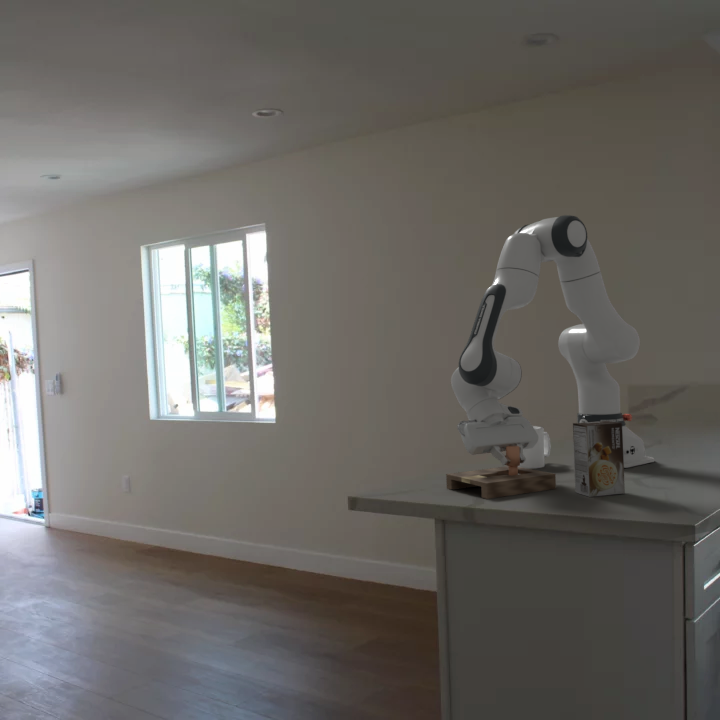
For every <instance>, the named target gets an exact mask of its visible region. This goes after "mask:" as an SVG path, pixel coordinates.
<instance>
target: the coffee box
mask: <svg viewBox="0 0 720 720" xmlns="http://www.w3.org/2000/svg"><path fill="white" fill-rule="evenodd" d="M572 431H573V433H572V434H573V437H572V439H573V460H574V461H573V463H574V487H575V493H577V494H579V495H583V496H586V497H589V498H595V497H601V496H612V495H622V494H625V492H626V490H625V489H626V487H625V468H624V459H623V434H622V423H618V422H612V421H598V422H583V423H577V422H572Z"/></svg>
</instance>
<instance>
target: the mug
mask: <svg viewBox="0 0 720 720" xmlns="http://www.w3.org/2000/svg"><path fill="white" fill-rule="evenodd" d="M532 426H533V428H534V429H535V431H536V433H537V434H538V442H537V443H536V445H535V446H534V447H533V448H529V449H523V455H524V456H525V458H526V460H525V462H524V463H520V466H518V467H522V468H527V469H539V468H544V467H545V464H546V463H545V460H546V459H545V458H547V457H550V453H551V438H550V435H549V433H548V432H547V431H545V429H544V427H543V426H539V425H532Z"/></svg>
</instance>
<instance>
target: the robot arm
mask: <svg viewBox="0 0 720 720" xmlns="http://www.w3.org/2000/svg"><path fill="white" fill-rule="evenodd" d="M587 231H588V230H587V228H586V225H585V224H584V222H583V221H582V220H581V219H580V218H579V217H578V216H576V215H570V214H569V215H567V214H564V215H560V216H556V217H554V216H553V217H548V218H543V219H541V220H540V221H539V220H538V221H535V222H533V223H531V224H524V225H523V226H520V227H519V228H517V230H515V231H514V233H513V234H511V235H510V236H508V237H507V238H506V239H505V241H504V244H503V247H502V249H501V252H500V255H499V258H498V260H497V266H496V269H495V275H494V278H493V282H492V284H491V285H490V286H489V287H487V289H486V290H485V292H484V294H483V295H482V298H481V302H480V304H479V307H478V310H477V313H476V315H475V320H474V322H473V325H472V328H471V330H470V331H471V332H470V335H469V338H468V341H467V343H466V344H465V346H464V348H463V350H462V352H461V353H460V357H459V360H458V367H457V368H456V369H455V370H454V371H453V373H452V375H451V377H450V383H451V384H450V386H451V389H452V391H453V393H454V396H455V398H456V400H457V402H458V403H459V406H460V407H461V408H462V409H463V410H464V411H465V413H466V417H467V419H468V420H460V421H459V422H458V424H457V425H456V429H457V430H458V433H459V434H460V437H461V440H462V442H463V445H464V448H465V450H466V451H467V453H468V454H470V455H472V456H475V455H484V454H491V456H492V457H493V458H495V459H497V460H498V461H499V462H500V464H501V465H502V466H507V465H509V463H510V459H509V457H508V455H506V454H504V453H503V452H506V446H519V450H520V463H524V462H525V460H526V458H525V456H524V455H523V449H529V448H533V447H534V446H535V445H536V443H537V442H538V434H537V433H536V431H535V429H534V428H533V426H534V425H532V423H531V421H529V420H528V419H527V418H526V417H525V416H523V415H524V412H523V410H522V409H521V408H520V407H516V406H511V405H506V404H504V403H502V402H500V401H499V400H501V399H503V398H504V397H506V396H507V395H509V394H510V393H512V392H513V391H514V390H516V389H517V388H518V386H519V385H520V383H521V380H522V377H523V376H522V372H523V371H522V367H521V364H520V363H519V362H518V360H516V359H514V358H512V357H511V356H508V355H507V354H504V353H501V352H499V351H498V350H496V347H495V340H496V337H497V334H498V330H499V326H500V324H501V320H502V317H503V316H504V314H505V313H506V312H507V311H509V310H518V309H522V308H523V307H526V306H527V305H529V304H530V303H531V302H532V301H533V300H534V298H535V295H536V293H537V290H538V285H539V278H540V273H541V272H540V271H541V265H542V263H545V262H546V263H547V262H554V263H555V264H556V269H557V273H558V279H559V280H558V281H559V283H560V287H561V291H562V294H563V295H562V296H563V298H564V302H565V305H566V308H567V309H568V310H569V312H571V313H572V314H573V315H575V316H577V318H578V319H579V320H580V322H581V324H580V323H579V324H576V325H573V326H569V327H567V328H565V329H563V331H561V333H560V335H559V338H558V341H557V345H558V351H559V353H560V355H561V356H562V357H563V358H564V359H565V360H566V361H567V362H568V364H569V366H570V368H571V370H572V372H573V376H574V379H575V382H576V387H577V396H578V399H577V400H578V413H577V415H576V416H577V418H576V419H577V422H576V423H583V422H598V421H612V422H618V423H622V434H623V459H624V469H625V468H626V469H627V468H628V469H629V468H632V467H637V466H641V465H645V464H649V463H654V462H655V458H654V457H653V456H648V455H646V449H645V443H644V441H643V439H642V438H641V437H640V436H638V435H637V434H636V433H635V432H633V431H632V430H631V429H630V428H629V427H627V426H626V425H627V424H626V421H627V422H631V421H632V420H633V416H632V414H631V413H624V414H623V412H621V387H620V385H619V382H617V381H618V380H616V379H614V377H613V376H611V374H610V372H609V370H608V367H607V364H619V363H623V362H625V361H629V360H632V359H633V358H635V357H636V355H637V354H638V352H639V350H640V344H641V340H640V339H641V338H640V336H639V333H638V331H637V329H636V328H635V327H634V326H632V325H631V324H629V323H628V322H626V321H625V320H624V319H623V318H622V317H621V315H620V314H619V313H618V311H617V310H616V309H615V307H614V305H613V304H612V302H611V300H610V297H609V295H608V292H607V289H606V285H605V282H604V278H603V275H602V271H601V268H600V264H599V261H598V257H597V255H596V253H595V251H594V248H593V246H592V244H591V242H590V240H589V238H588V232H587Z"/></svg>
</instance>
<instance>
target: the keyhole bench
mask: <svg viewBox="0 0 720 720" xmlns="http://www.w3.org/2000/svg"><path fill="white" fill-rule="evenodd" d="M445 476H446V477H445V478H446V489H447V490H451V489H453V490H458V489H459V488H460V489H466V487H467V488H473V487H481V489H480V490H481V498H482V499H486V500H489V499H495V498H496V499H497V498H501V497H508V496H509V497H510V496H515V495H517V496H518V495H521V494H522V495H523V494H528V493H536V492H537V493H538V492H541V491H542V492H543V491H551V490H556V489H557V487H556V486H557V483H556V481H557V478H556V477H557V476H556V473H552V472H548V471H542V470H538V469H537V470H536V469H533V468H531V469H527V468H522V467H518V475H509V467H508V466H507V465H504V466H498V467H492V468H491V467H490V468H484V469H483V468H482V469H475V470H469V471H461V472H459V471H458V472H451V473H446V474H445Z"/></svg>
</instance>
